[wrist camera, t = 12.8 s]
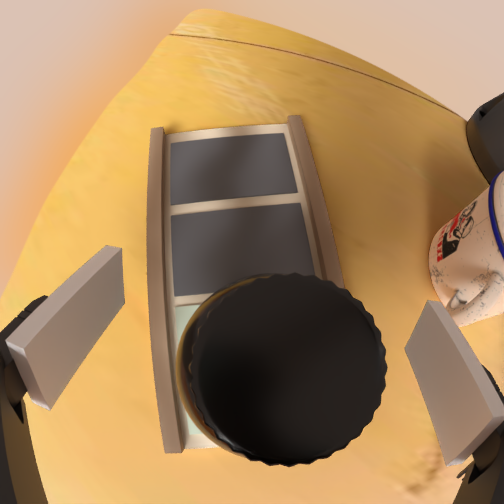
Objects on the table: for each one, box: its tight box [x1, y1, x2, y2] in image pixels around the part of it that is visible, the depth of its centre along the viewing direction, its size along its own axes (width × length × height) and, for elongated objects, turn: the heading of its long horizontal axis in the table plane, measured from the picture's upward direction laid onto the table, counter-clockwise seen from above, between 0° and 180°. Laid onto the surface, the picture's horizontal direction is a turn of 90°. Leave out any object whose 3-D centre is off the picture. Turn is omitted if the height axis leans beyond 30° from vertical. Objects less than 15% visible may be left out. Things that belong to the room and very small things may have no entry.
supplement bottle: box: [176, 272, 387, 467], centre depth 12 cm, size 7×7×12 cm
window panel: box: [147, 115, 345, 453], centre depth 21 cm, size 12×23×2 cm, turn 7°
